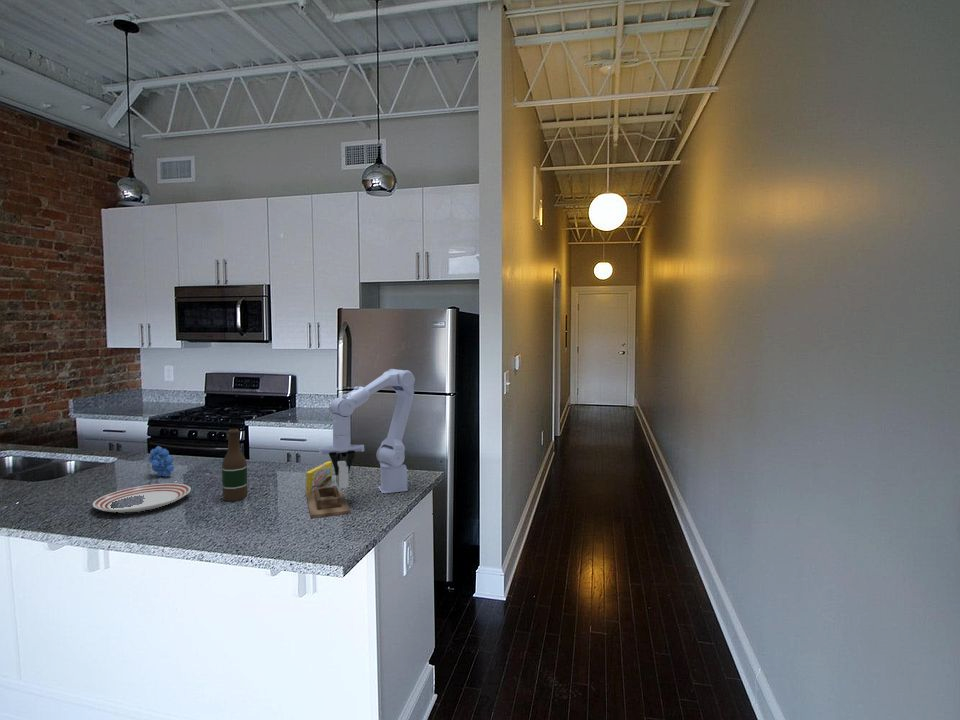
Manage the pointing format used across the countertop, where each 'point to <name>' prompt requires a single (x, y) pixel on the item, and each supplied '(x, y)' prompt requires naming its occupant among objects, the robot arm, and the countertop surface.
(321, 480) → the candy box
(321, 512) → the walnut well stand
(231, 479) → the beer bottle
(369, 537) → the countertop surface
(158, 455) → the grapes
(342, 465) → the grey rectangular block
